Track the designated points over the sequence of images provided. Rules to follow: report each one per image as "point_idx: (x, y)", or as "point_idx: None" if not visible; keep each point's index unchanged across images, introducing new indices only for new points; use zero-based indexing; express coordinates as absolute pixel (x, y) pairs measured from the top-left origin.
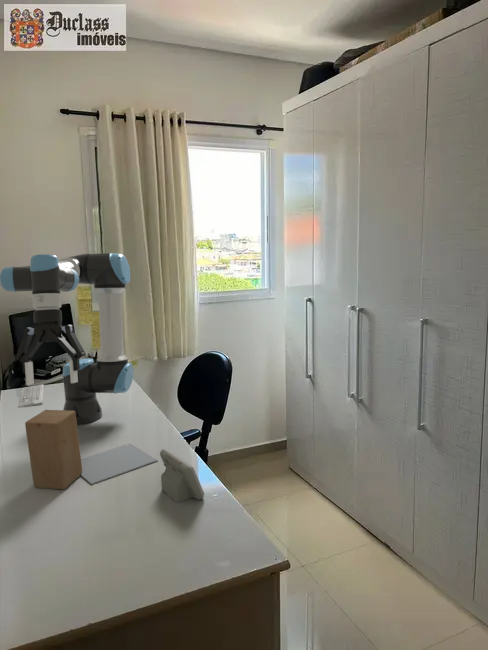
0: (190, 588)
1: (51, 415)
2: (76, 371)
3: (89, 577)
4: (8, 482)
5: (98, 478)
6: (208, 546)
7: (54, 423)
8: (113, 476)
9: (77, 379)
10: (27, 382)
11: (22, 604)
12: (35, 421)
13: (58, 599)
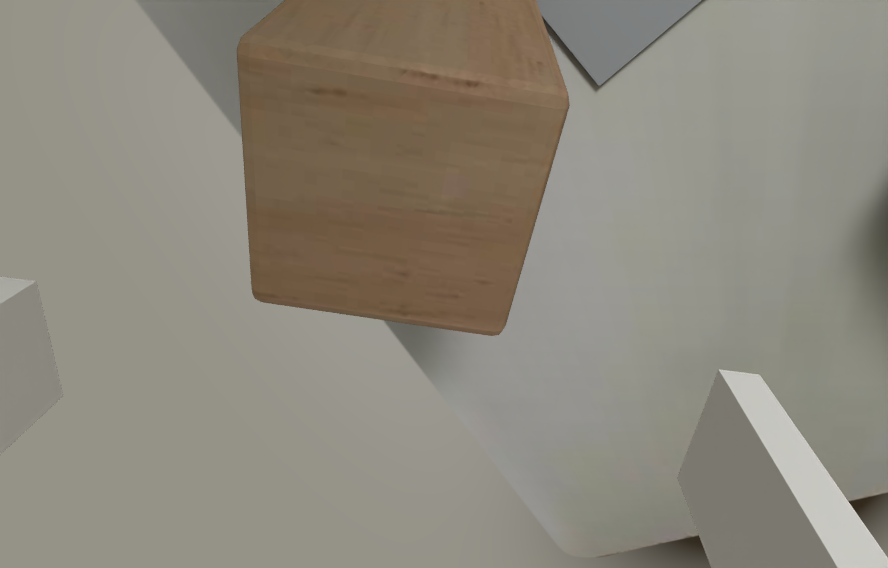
0: (877, 490)
1: (390, 204)
2: (836, 523)
3: (673, 469)
4: (195, 59)
5: (623, 34)
6: None
7: (485, 333)
8: (696, 3)
9: (773, 408)
10: (24, 419)
11: (561, 511)
12: (326, 300)
13: (623, 505)
